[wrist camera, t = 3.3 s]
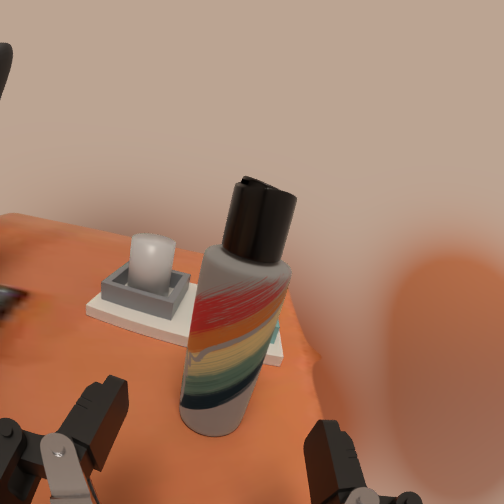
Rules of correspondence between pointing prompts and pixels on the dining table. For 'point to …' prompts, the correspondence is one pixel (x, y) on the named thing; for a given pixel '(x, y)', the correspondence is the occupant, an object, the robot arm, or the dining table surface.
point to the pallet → (155, 296)
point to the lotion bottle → (236, 308)
